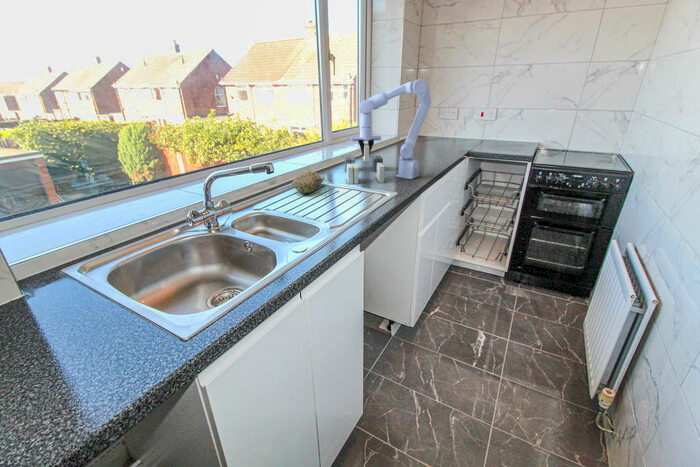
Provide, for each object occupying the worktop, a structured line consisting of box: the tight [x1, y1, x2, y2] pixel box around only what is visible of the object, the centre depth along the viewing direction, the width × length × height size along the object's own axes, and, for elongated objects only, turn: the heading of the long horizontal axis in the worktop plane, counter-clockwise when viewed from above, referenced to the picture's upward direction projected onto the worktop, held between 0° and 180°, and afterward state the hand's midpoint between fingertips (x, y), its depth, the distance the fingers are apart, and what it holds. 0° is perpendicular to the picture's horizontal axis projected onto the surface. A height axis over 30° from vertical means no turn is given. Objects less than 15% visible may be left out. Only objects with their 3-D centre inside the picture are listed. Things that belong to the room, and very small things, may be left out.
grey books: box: [344, 155, 384, 173], centre depth 177 cm, size 19×9×6 cm, turn 94°
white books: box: [346, 162, 385, 185], centre depth 156 cm, size 17×9×8 cm, turn 94°
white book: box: [362, 142, 370, 163], centre depth 162 cm, size 2×9×8 cm, turn 4°
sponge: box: [292, 171, 325, 194], centre depth 143 cm, size 13×8×20 cm
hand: (366, 155), depth 162 cm, fingers closed on white book, 2 cm apart
